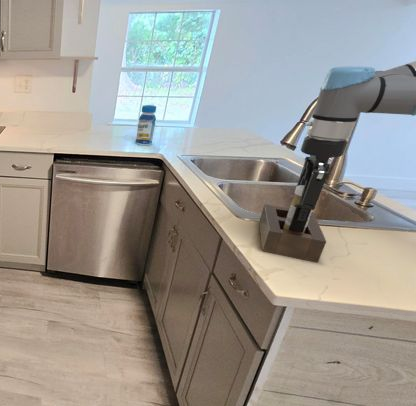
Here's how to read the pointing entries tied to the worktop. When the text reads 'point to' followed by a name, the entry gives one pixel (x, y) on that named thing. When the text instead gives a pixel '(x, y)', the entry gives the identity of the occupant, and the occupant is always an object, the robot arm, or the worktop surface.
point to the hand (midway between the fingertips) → (294, 226)
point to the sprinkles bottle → (292, 209)
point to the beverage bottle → (146, 125)
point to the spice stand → (290, 235)
